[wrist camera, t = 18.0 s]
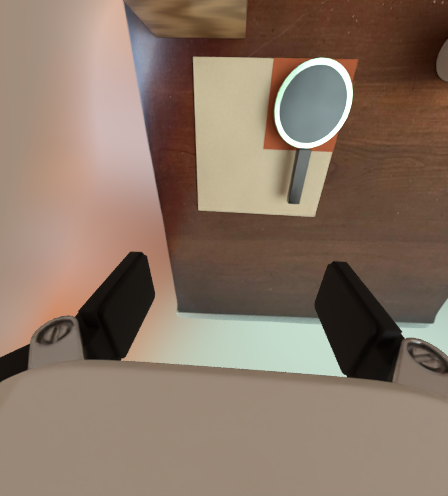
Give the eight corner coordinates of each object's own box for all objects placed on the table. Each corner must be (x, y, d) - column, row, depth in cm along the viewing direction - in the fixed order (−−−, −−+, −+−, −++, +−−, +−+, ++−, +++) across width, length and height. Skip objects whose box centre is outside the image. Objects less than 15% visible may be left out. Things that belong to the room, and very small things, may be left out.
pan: (317, 198, 36) (325, 205, 32) (260, 195, 36) (262, 202, 33) (353, 64, 27) (370, 54, 23) (277, 63, 27) (282, 53, 24)
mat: (198, 209, 39) (198, 210, 38) (193, 57, 28) (192, 56, 27) (313, 215, 38) (314, 217, 37) (355, 60, 27) (358, 59, 26)
